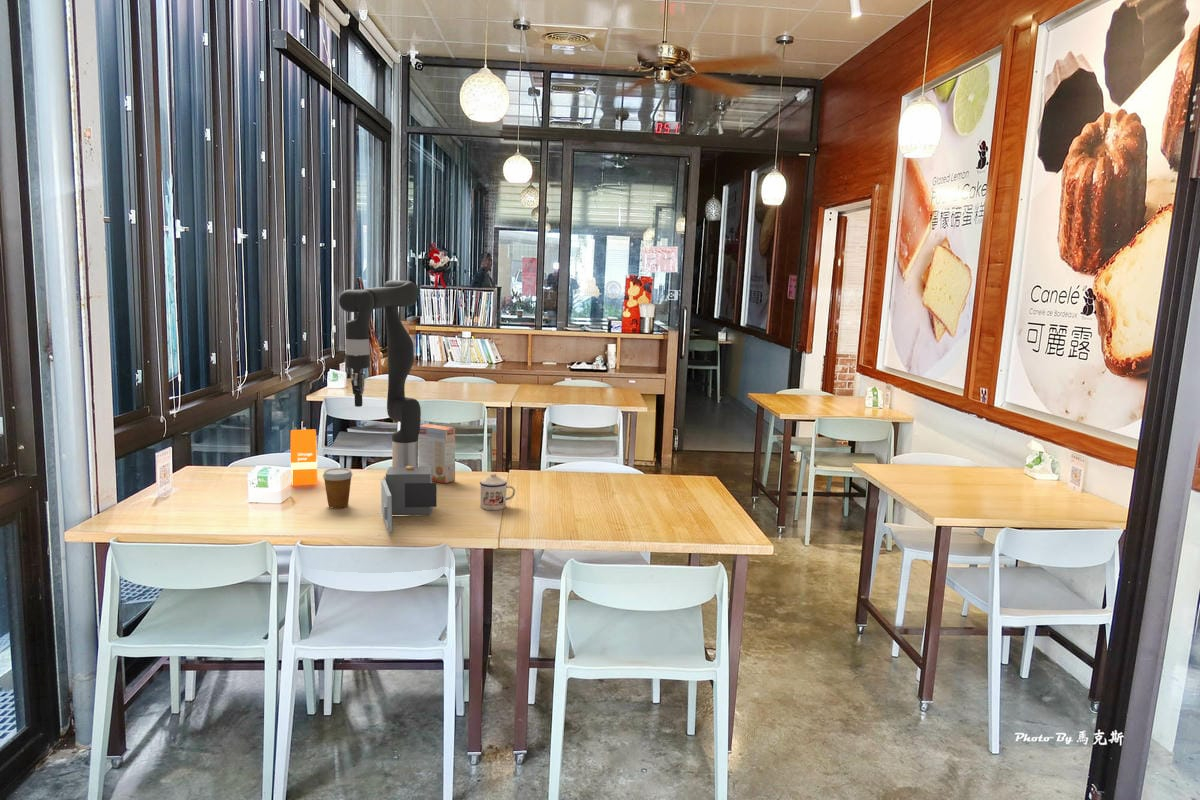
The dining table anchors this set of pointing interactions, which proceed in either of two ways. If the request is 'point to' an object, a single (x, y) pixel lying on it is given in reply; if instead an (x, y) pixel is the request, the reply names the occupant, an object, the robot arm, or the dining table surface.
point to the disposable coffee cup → (337, 486)
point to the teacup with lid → (494, 493)
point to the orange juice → (304, 457)
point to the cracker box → (438, 451)
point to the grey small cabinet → (411, 490)
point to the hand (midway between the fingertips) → (358, 406)
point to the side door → (386, 505)
